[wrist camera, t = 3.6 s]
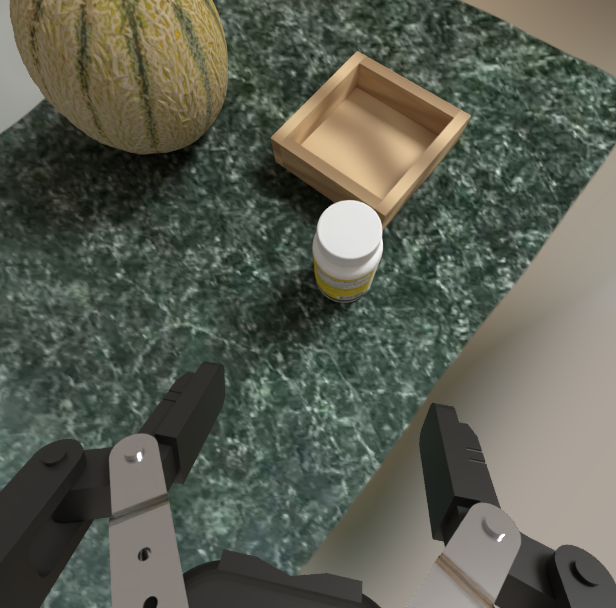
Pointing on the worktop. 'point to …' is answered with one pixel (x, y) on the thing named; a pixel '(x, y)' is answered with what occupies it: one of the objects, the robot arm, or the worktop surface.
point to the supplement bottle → (347, 250)
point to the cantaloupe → (127, 67)
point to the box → (368, 137)
